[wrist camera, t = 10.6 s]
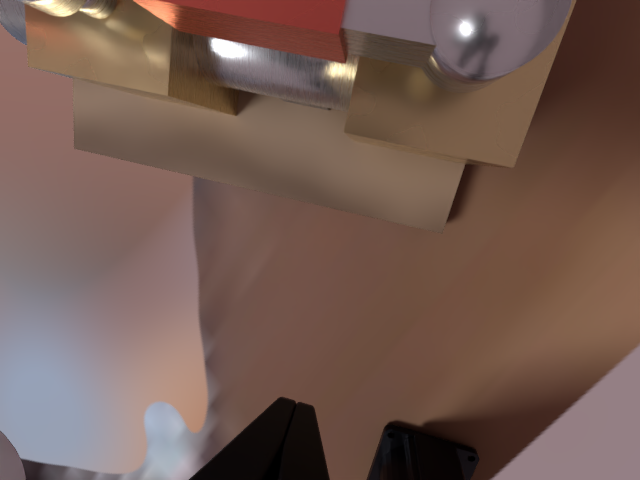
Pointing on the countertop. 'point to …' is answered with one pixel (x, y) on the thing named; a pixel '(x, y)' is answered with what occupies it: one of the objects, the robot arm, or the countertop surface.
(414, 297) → the countertop surface
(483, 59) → the valve lever
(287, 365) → the countertop surface
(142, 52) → the pipe manifold
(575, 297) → the countertop surface
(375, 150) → the beige flat board
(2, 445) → the honey pot
